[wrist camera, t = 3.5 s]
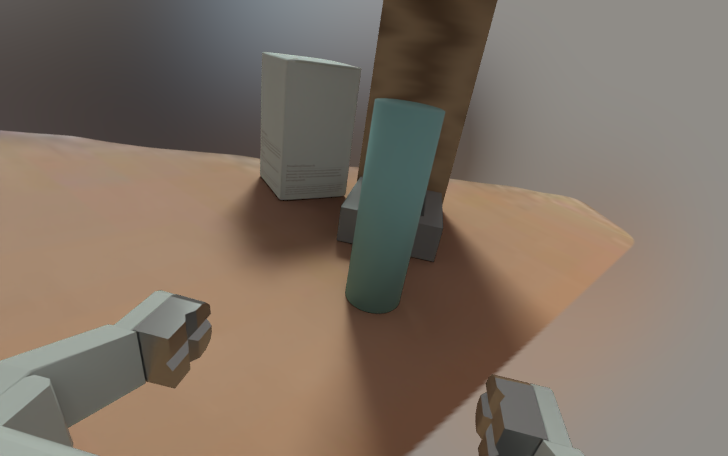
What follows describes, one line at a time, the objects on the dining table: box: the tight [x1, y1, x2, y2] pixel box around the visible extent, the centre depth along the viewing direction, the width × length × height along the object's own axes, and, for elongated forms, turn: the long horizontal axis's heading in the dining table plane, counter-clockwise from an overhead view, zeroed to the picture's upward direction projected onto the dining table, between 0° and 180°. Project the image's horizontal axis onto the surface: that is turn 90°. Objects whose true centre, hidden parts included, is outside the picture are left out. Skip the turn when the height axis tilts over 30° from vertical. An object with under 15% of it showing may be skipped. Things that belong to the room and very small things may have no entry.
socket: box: [337, 177, 443, 262], centre depth 32 cm, size 8×8×3 cm
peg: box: [345, 98, 445, 313], centre depth 21 cm, size 4×4×12 cm
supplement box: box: [260, 52, 361, 200], centre depth 36 cm, size 7×7×13 cm
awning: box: [357, 0, 497, 204], centre depth 28 cm, size 9×15×22 cm, turn 169°
